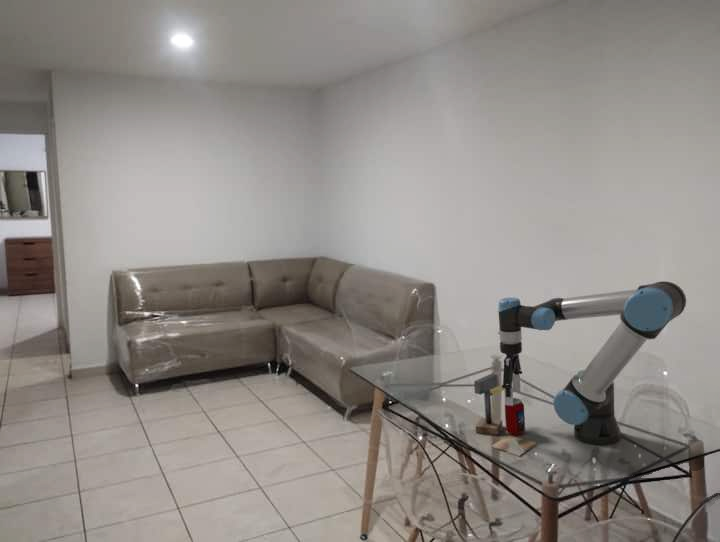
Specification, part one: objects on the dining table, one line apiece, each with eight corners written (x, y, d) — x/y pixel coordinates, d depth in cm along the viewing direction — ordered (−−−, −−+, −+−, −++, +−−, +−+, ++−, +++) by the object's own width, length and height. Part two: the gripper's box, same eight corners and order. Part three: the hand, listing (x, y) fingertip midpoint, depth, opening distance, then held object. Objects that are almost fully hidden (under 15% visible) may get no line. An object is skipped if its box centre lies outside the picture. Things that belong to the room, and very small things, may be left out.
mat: (536, 444, 200) (536, 442, 200) (519, 456, 192) (519, 454, 192) (508, 436, 208) (508, 434, 208) (491, 447, 201) (491, 445, 200)
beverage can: (526, 436, 207) (524, 404, 205) (506, 436, 208) (504, 404, 207) (524, 428, 213) (523, 397, 212) (505, 428, 215) (504, 397, 213)
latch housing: (502, 426, 217) (502, 419, 217) (497, 435, 210) (497, 428, 209) (481, 424, 220) (480, 417, 220) (476, 432, 213) (475, 426, 213)
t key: (503, 412, 222) (500, 369, 220) (508, 414, 221) (506, 370, 218) (477, 426, 212) (474, 381, 210) (482, 428, 210) (479, 382, 208)
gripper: (507, 331, 219) (509, 385, 222) (492, 350, 197) (494, 410, 200) (527, 332, 216) (529, 386, 219) (514, 352, 193) (516, 412, 197)
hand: (513, 398), depth 209 cm, fingers open, 13 cm apart
